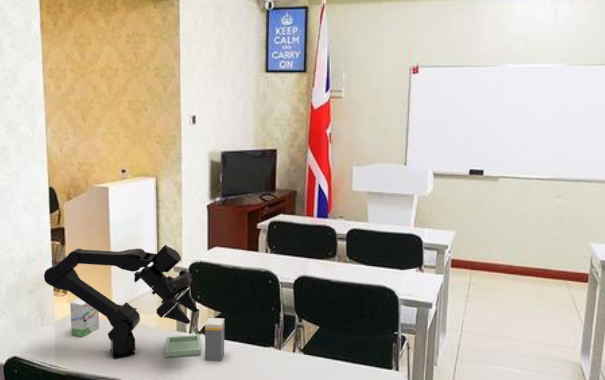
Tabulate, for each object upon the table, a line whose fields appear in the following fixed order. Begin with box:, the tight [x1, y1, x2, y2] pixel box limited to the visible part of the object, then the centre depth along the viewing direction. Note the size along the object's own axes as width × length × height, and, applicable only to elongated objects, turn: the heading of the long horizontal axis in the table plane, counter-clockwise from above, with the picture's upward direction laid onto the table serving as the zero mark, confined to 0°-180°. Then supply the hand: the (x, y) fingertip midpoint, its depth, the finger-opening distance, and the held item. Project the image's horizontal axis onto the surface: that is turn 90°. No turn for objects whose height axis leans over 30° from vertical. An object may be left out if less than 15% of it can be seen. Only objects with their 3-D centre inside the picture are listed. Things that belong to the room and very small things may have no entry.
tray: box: [164, 334, 202, 359], centre depth 167 cm, size 11×11×2 cm
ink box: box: [69, 298, 100, 338], centre depth 177 cm, size 8×5×12 cm, turn 161°
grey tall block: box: [204, 317, 225, 362], centre depth 161 cm, size 5×5×12 cm
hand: (193, 317), depth 160 cm, fingers open, 9 cm apart
